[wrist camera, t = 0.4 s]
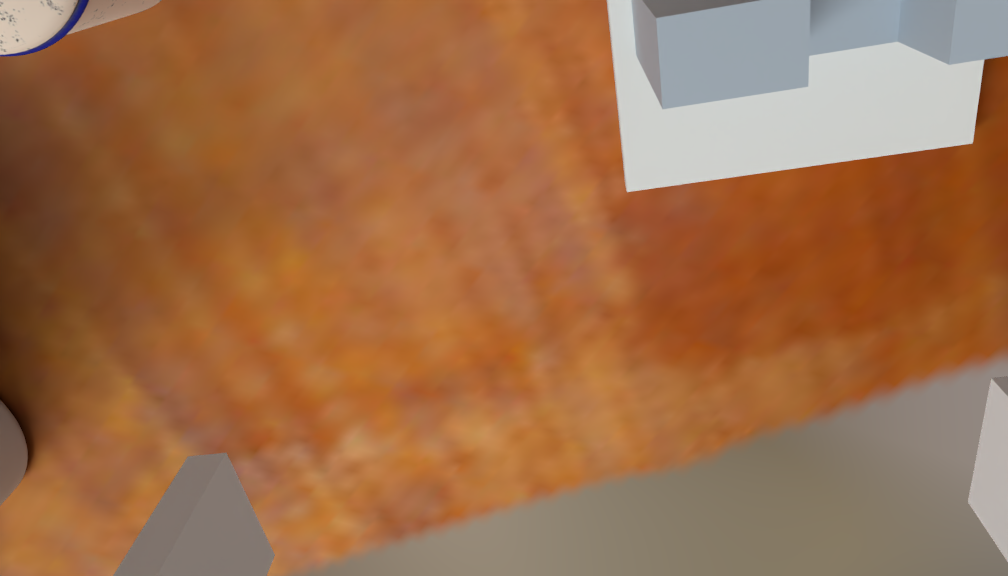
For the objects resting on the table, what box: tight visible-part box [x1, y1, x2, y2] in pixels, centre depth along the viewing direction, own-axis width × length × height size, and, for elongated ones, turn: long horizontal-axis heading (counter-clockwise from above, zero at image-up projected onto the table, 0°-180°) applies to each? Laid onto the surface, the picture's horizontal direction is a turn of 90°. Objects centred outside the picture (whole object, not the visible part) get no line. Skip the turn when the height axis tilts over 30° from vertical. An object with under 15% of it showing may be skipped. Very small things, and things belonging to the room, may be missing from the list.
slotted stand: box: [607, 0, 1008, 192], centre depth 27 cm, size 16×16×10 cm
